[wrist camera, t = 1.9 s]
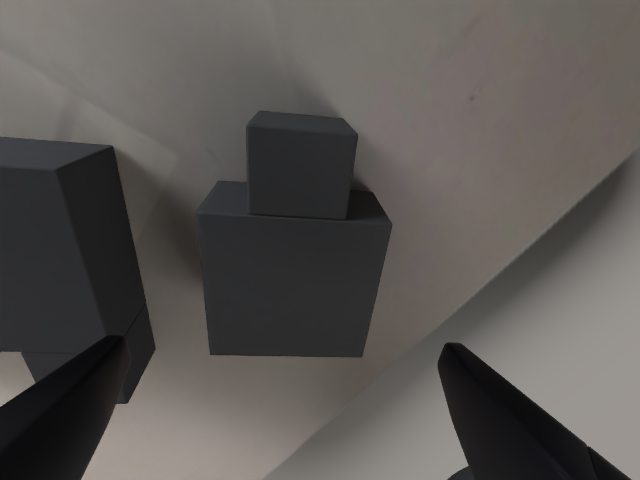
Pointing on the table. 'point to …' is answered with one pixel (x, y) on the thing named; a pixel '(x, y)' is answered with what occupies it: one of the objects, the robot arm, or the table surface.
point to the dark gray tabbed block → (292, 244)
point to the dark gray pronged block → (67, 257)
